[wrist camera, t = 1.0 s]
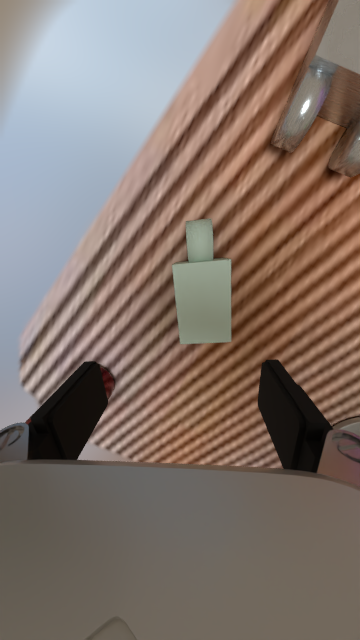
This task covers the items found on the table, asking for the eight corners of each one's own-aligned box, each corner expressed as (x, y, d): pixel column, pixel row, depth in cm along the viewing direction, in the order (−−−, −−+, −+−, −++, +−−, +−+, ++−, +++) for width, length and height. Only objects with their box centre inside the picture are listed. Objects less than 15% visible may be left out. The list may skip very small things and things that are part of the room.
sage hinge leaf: (224, 220, 23) (230, 212, 19) (225, 326, 28) (231, 341, 24) (172, 226, 24) (167, 220, 20) (182, 329, 29) (180, 344, 24)
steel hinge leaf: (424, 28, 17) (511, -58, 12) (337, 184, 21) (377, 164, 17) (334, -14, 17) (389, -118, 12) (265, 153, 21) (284, 125, 16)
